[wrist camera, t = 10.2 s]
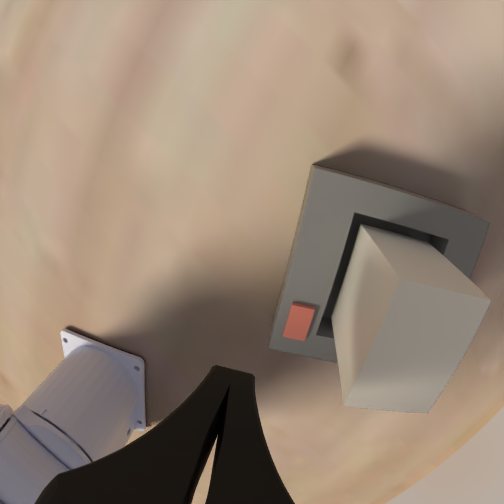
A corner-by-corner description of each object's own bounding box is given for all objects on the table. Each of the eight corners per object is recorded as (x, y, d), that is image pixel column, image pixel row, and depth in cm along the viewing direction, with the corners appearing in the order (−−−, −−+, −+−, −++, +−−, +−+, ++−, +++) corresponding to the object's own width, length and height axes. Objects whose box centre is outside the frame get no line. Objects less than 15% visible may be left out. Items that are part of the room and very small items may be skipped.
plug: (420, 235, 17) (491, 300, 9) (389, 318, 19) (428, 413, 11) (356, 218, 17) (399, 278, 9) (329, 306, 19) (343, 405, 11)
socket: (465, 210, 17) (492, 224, 13) (411, 348, 20) (424, 378, 17) (311, 164, 17) (315, 168, 14) (272, 321, 21) (267, 351, 17)
